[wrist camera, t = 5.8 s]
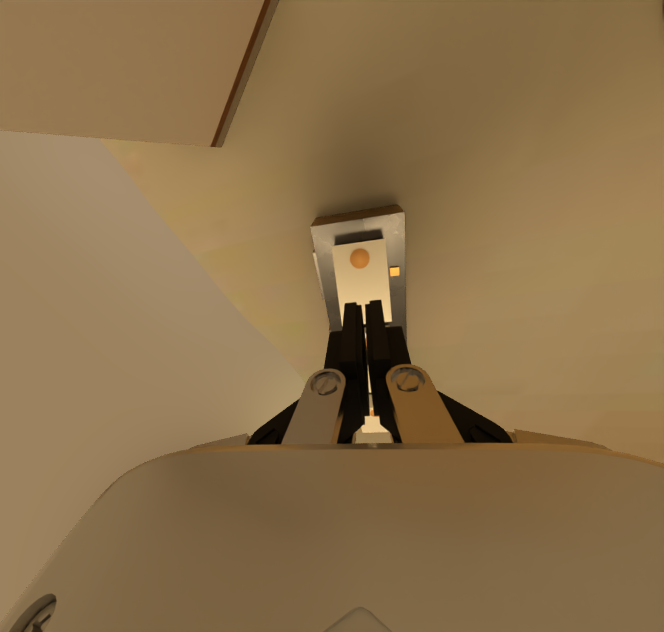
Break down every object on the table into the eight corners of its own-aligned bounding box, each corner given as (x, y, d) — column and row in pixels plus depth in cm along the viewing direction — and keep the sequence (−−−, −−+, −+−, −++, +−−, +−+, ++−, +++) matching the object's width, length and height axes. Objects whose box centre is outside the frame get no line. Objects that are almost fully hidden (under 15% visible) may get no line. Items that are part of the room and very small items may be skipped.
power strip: (312, 218, 25) (305, 228, 22) (397, 204, 24) (405, 212, 20) (348, 403, 40) (347, 427, 36) (403, 400, 38) (408, 425, 35)
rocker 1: (333, 245, 22) (331, 246, 21) (384, 238, 22) (385, 238, 20) (343, 320, 24) (341, 326, 23) (390, 316, 24) (392, 321, 22)
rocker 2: (356, 395, 30) (356, 409, 29) (394, 393, 29) (396, 407, 28) (362, 420, 35) (362, 433, 33) (394, 419, 34) (396, 432, 33)
